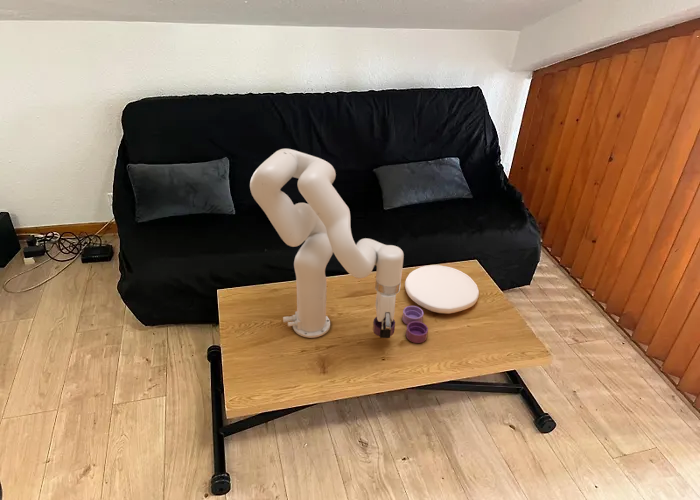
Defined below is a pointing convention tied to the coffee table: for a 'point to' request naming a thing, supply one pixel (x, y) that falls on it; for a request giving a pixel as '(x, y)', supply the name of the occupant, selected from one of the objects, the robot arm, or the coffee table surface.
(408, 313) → the lilac dish
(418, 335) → the plum dish
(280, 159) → the robot arm
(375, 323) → the aubergine dish
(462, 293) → the plate
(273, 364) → the coffee table surface
